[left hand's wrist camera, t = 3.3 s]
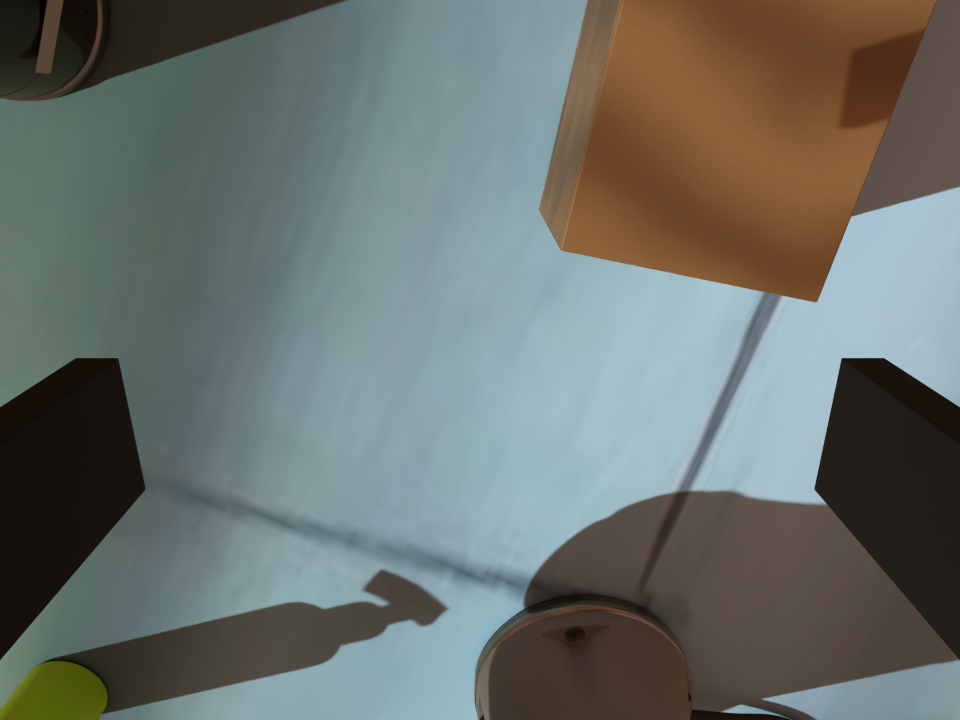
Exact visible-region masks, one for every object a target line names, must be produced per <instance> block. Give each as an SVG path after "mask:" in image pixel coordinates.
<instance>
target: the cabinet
mask: <svg viewBox="0 0 960 720" xmlns="http://www.w3.org/2000/svg"><path fill="white" fill-rule="evenodd" d="M936 2H937V0H588V2H587V6H586V11H585V15H584V19H583V23H582V28H581V32H580V36H579V41H578V45H577V49H576V54H575V58H574V62H573V67H572V71H571V75H570V79H569V84H568V88H567V92H566V97H565V101H564V105H563V110H562V114H561V118H560V122H559V127H558V131H557V135H556V140H555V144H554V148H553V153H552V157H551V161H550V165H549V170H548V174H547V178H546V183H545V187H544V191H543V196H542V200H541V204H540V208H539V211H540V213H541V215H542V217H543V219H544V220H545V222H546V224H547V226H548V228H549V230H550V231H551V233H552V235H553V237H554V239H555V241H556V243H557V244H558V246H559V248H560V250H562V251H566V252H571V253H576V254H581V255H586V256H591V257H596V258H601V259H605V260H610V261H615V262H620V263H625V264H630V265H635V266H640V267H645V268H650V269H654V270H659V271H664V272H669V273H674V274H679V275H684V276H689V277H694V278H699V279H704V280H708V281H713V282H718V283H723V284H728V285H733V286H738V287H743V288H748V289H753V290H758V291H762V292H767V293H772V294H777V295H782V296H787V297H792V298H797V299H802V300H807V301H811V302H817V301H818V298H819V296H820V293H821V291H822V288H823V286H824V283H825V281H826V278H827V276H828V273H829V271H830V268H831V266H832V263H833V261H834V258H835V256H836V253H837V251H838V248H839V245H840V243H841V240H842V238H843V235H844V233H845V230H846V228H847V225H848V223H849V220H850V218H851V215H852V213H853V210H854V208H855V205H856V203H857V200H858V198H859V195H860V193H861V190H862V188H863V185H864V183H865V180H866V178H867V175H868V173H869V170H870V168H871V165H872V163H873V160H874V158H875V155H876V152H877V150H878V147H879V145H880V142H881V140H882V137H883V135H884V132H885V130H886V127H887V125H888V122H889V120H890V117H891V115H892V112H893V110H894V107H895V105H896V102H897V100H898V97H899V95H900V92H901V90H902V87H903V85H904V82H905V80H906V77H907V75H908V72H909V70H910V67H911V65H912V62H913V59H914V57H915V54H916V52H917V49H918V47H919V44H920V42H921V39H922V37H923V34H924V32H925V29H926V27H927V24H928V22H929V19H930V17H931V14H932V12H933V9H934V7H935V4H936Z"/></svg>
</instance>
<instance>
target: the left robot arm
mask: <svg viewBox="0 0 960 720" xmlns="http://www.w3.org/2000/svg"><path fill="white" fill-rule="evenodd" d="M144 491H145V484H144V479H143V475H142V470H141V465H140V460H139V455H138V451H137V446H136V441H135V436H134V432H133V427H132V422H131V417H130V412H129V408H128V403H127V398H126V393H125V389H124V384H123V379H122V374H121V369H120V365H119V360H118V358H76V359H74V360H73V361H71V362H69V363H68V364H66V365H65V366H63V367H62V368H60V369H59V370H57V371H56V372H54V373H52V374H51V375H49V376H48V377H46V378H45V379H43V380H42V381H40V382H39V383H37V384H35V385H34V386H32V387H31V388H29V389H28V390H26V391H25V392H23V393H22V394H20V395H18V396H17V397H15V398H14V399H12V400H11V401H9V402H8V403H6V404H5V405H3V406H1V407H0V660H1V658H2V657H3V656H4V655H5V654H6V653H7V651H8V650H9V649H10V648H11V647H12V646H13V644H14V643H15V642H16V641H17V640H18V638H19V637H20V636H21V635H22V634H23V633H24V631H25V630H26V629H27V628H28V627H29V626H30V624H31V623H32V622H33V621H34V620H35V619H36V617H37V616H38V615H39V614H40V613H41V611H42V610H43V609H44V608H45V607H46V606H47V604H48V603H49V602H50V601H51V600H52V599H53V597H54V596H55V595H56V594H57V593H58V592H59V590H60V589H61V588H62V587H63V586H64V584H65V583H66V582H67V581H68V580H69V579H70V577H71V576H72V575H73V574H74V573H75V572H76V570H77V569H78V568H79V567H80V566H81V565H82V563H83V562H84V561H85V560H86V559H87V557H88V556H89V555H90V554H91V553H92V552H93V550H94V549H95V548H96V547H97V546H98V545H99V543H100V542H101V541H102V540H103V539H104V538H105V536H106V535H107V534H108V533H109V532H110V530H111V529H112V528H113V527H114V526H115V525H116V523H117V522H118V521H119V520H120V519H121V518H122V516H123V515H124V514H125V513H126V512H127V511H128V509H129V508H130V507H131V506H132V505H133V503H134V502H135V501H136V500H137V499H138V498H139V496H140V495H141V494H142V493H143V492H144ZM815 491H816V492H817V493H818V494H819V495H820V496H821V498H822V499H823V500H824V501H825V502H826V503H827V505H828V506H829V507H830V508H831V509H832V511H833V512H834V513H835V514H836V515H837V516H838V518H839V519H840V520H841V521H842V522H843V523H844V525H845V526H846V527H847V528H848V529H849V530H850V532H851V533H852V534H853V535H854V536H855V538H856V539H857V540H858V541H859V542H860V543H861V545H862V546H863V547H864V548H865V549H866V550H867V552H868V553H869V554H870V555H871V556H872V557H873V559H874V560H875V561H876V562H877V563H878V565H879V566H880V567H881V568H882V569H883V570H884V572H885V573H886V574H887V575H888V576H889V577H890V579H891V580H892V581H893V582H894V583H895V584H896V586H897V587H898V588H899V589H900V590H901V592H902V593H903V594H904V595H905V596H906V597H907V599H908V600H909V601H910V602H911V603H912V604H913V606H914V607H915V608H916V609H917V610H918V611H919V613H920V614H921V615H922V616H923V617H924V619H925V620H926V621H927V622H928V623H929V624H930V626H931V627H932V628H933V629H934V630H935V631H936V633H937V634H938V635H939V636H940V637H941V638H942V640H943V641H944V642H945V643H946V644H947V646H948V647H949V648H950V649H951V650H952V651H953V653H954V654H955V655H956V656H957V657H958V658H959V660H960V407H959V406H957V405H955V404H954V403H952V402H951V401H949V400H948V399H946V398H945V397H943V396H942V395H940V394H938V393H937V392H935V391H934V390H932V389H931V388H929V387H928V386H926V385H925V384H923V383H921V382H920V381H918V380H917V379H915V378H914V377H912V376H911V375H909V374H908V373H906V372H904V371H903V370H901V369H900V368H898V367H897V366H895V365H894V364H892V363H891V362H889V361H887V360H886V359H884V358H842V360H841V365H840V369H839V374H838V379H837V384H836V389H835V393H834V398H833V403H832V408H831V412H830V417H829V422H828V427H827V432H826V436H825V441H824V446H823V451H822V455H821V460H820V465H819V470H818V475H817V479H816V484H815ZM692 699H693V692H692V683H691V676H690V672H689V668H688V665H687V663H686V660H685V657H684V654H683V652H682V649H681V647H680V644H679V643H678V641H677V639H676V637H675V636H674V635H673V633H672V632H671V631H670V630H669V628H668V627H667V626H666V625H665V624H664V623H663V622H661V621H660V620H659V619H658V618H657V617H655V616H654V615H652V614H651V613H649V612H648V611H646V610H644V609H642V608H640V607H638V606H636V605H633V604H631V603H628V602H625V601H621V600H617V599H613V598H608V597H600V596H572V597H564V598H558V599H554V600H550V601H546V602H543V603H540V604H537V605H535V606H533V607H530V608H528V609H526V610H524V611H522V612H521V613H519V614H517V615H516V616H514V617H512V618H511V619H510V620H508V621H507V622H506V623H504V624H503V625H502V626H501V627H500V628H499V629H498V630H497V631H496V632H495V633H494V634H493V635H492V637H491V638H490V639H489V640H488V642H487V643H486V645H485V646H484V648H483V650H482V652H481V654H480V657H479V659H478V662H477V666H476V672H475V706H476V711H477V716H478V720H790V719H787V718H784V717H780V716H775V715H768V714H737V713H724V712H712V711H702V710H692Z"/></svg>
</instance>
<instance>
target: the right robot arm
mask: <svg viewBox="0 0 960 720" xmlns="http://www.w3.org/2000/svg"><path fill="white" fill-rule="evenodd" d="M108 32H109V5H108V0H0V98H5V99H9V100H19V101H39V100H48V99H52V98H56V97H59V96H62V95H65V94H67V93H69V92H71V91H72V90H74V89H76V88H77V87H79V86H80V85H81V84H82V83H83V82H85V81H86V79H87V78H88V77H89V76H90V75H91V74H92V73H93V71H94V70H95V68H96V67H97V65H98V63H99V62H100V60H101V57H102V55H103V53H104V50H105V46H106V43H107V38H108Z"/></svg>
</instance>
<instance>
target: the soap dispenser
mask: <svg viewBox="0 0 960 720" xmlns="http://www.w3.org/2000/svg"><path fill="white" fill-rule="evenodd" d="M107 701H108V695H107V691H106V688H105V686H104V684H103V683H102V681H101V680H100V679H99V678H98V677H97V676H96V675H95V674H94V673H93V672H91V671H90V670H88V669H86V668H84V667H82V666H80V665H77V664H74V663H70V662H64V661H52V662H46V663H43V664H40V665H38V666H37V667H35V668H34V669H33V670H31V671H30V673H29V674H28V675H27V676H26V678H25V679H24V680H23V682H22V683H21V684H20V685H19V687H18V688H17V689H16V690H15V692H14V693H13V694H12V696H11V697H10V698H9V699H8V701H7V702H6V703H5V704H4V706H3V707H2V708H1V710H0V720H98V719H99V717H100V716H101V714H102V712H103V711H104V709H105V707H106V705H107Z"/></svg>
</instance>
